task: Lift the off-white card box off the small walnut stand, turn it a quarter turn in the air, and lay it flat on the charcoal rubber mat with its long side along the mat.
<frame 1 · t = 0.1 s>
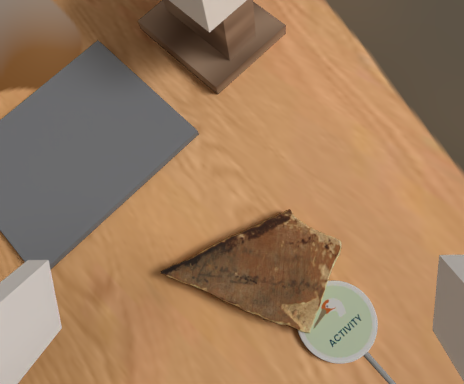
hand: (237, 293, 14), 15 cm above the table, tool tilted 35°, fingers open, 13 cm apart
rubber mat: (73, 150, 35), on the table
sign: (388, 382, 27), on the table, touching shard
shard: (262, 287, 30), on the table, touching sign
walnut stand: (211, 31, 37), on the table
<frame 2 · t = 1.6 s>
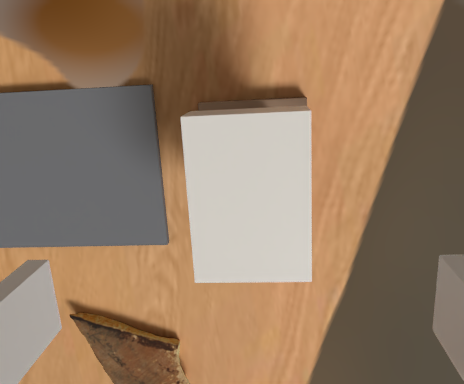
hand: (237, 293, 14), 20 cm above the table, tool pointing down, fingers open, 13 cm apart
rubber mat: (66, 170, 35), on the table
card box: (251, 188, 27), point 7 cm above the table, touching walnut stand
shard: (131, 355, 41), on the table
walnut stand: (254, 164, 34), on the table
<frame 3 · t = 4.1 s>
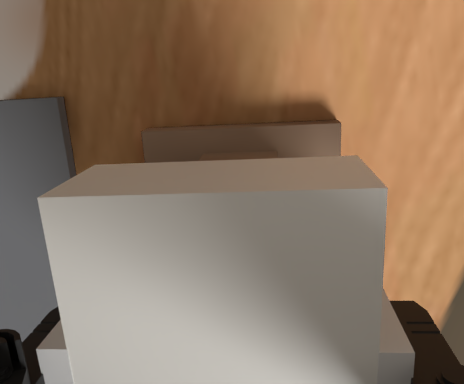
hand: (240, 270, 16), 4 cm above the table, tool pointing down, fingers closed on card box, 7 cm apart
card box: (232, 324, 13), point 7 cm above the table, touching gripper, walnut stand
walnut stand: (246, 234, 19), on the table
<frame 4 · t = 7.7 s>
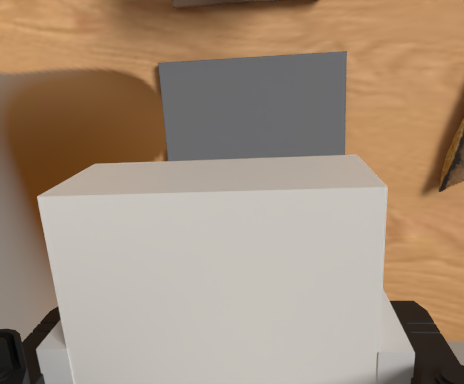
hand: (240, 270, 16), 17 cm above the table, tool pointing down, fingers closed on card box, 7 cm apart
rubber mat: (255, 168, 32), on the table
card box: (232, 323, 13), point 20 cm above the table, touching gripper
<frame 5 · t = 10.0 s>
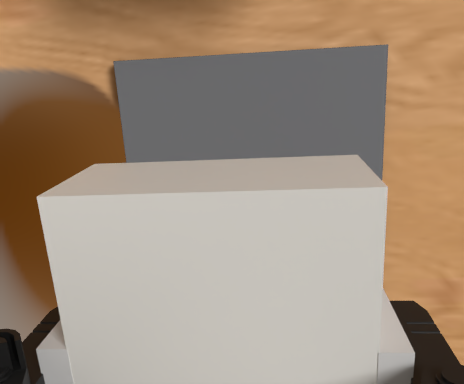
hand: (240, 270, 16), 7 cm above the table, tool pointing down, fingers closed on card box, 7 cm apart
rubber mat: (253, 209, 23), on the table
card box: (232, 323, 13), point 11 cm above the table, touching gripper
when the fingers open (3 cm above the table, at t = 11.7 s): card box drops 5 cm, resting on rubber mat.
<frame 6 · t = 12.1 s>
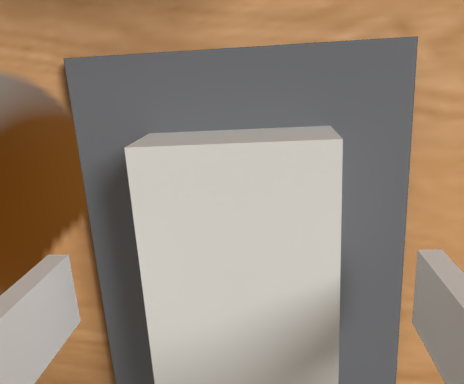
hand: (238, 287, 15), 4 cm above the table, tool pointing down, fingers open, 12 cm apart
rubber mat: (244, 243, 18), on the table
card box: (244, 248, 18), point 1 cm above the table, touching rubber mat
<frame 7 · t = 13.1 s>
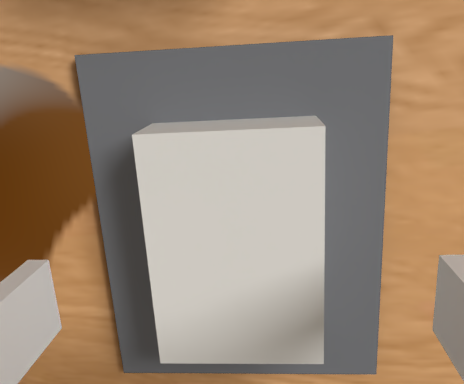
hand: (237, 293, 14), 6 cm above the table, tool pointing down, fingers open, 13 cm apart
rubber mat: (239, 224, 20), on the table
card box: (238, 228, 20), point 1 cm above the table, touching rubber mat
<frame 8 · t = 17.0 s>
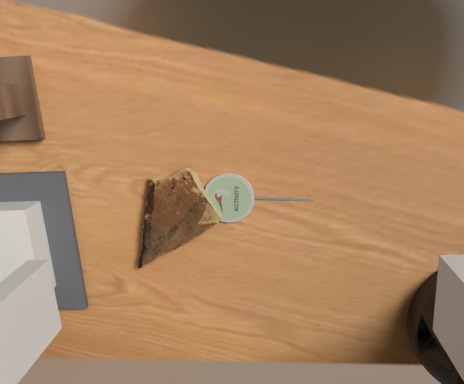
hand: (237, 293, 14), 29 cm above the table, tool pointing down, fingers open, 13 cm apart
rubber mat: (21, 242, 47), on the table
card box: (18, 245, 47), point 1 cm above the table, touching rubber mat
sign: (276, 197, 44), on the table
shard: (183, 218, 45), on the table
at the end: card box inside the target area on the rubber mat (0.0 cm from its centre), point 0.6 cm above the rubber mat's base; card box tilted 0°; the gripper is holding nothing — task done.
